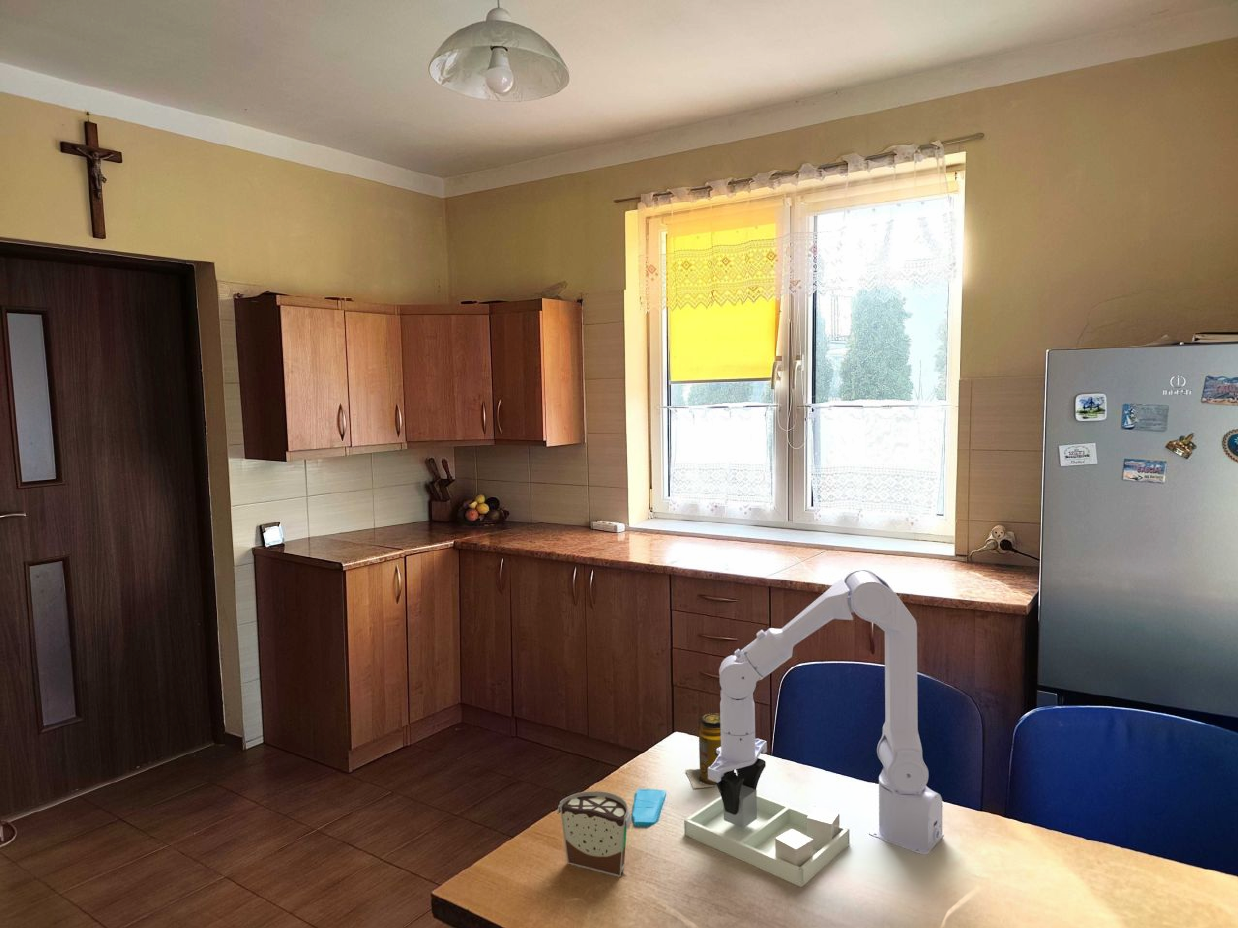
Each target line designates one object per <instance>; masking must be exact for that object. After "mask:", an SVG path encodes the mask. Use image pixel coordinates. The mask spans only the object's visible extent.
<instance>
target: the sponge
mask: <svg viewBox="0 0 1238 928" xmlns="http://www.w3.org/2000/svg"><path fill="white" fill-rule="evenodd" d="M666 796H667V791H666V790H664V789H658V788H657V789H654V788H640V789H639V788H638V789H637V790H636V791H635V793H634V797H633V798H634V799H633V805H632V813H631V814H630V815H631V819H632V821H633V824H634V825H633V826H634V827H645V828H647V827H650V828H651V827H652V826H654V825H655V824H657V823H659V821H660V817H661V813H662V810H663V806H664V805H665V801H666V800H665V799H666Z"/></svg>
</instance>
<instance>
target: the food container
mask: <svg viewBox="0 0 1238 928" xmlns="http://www.w3.org/2000/svg"><path fill="white" fill-rule="evenodd" d="M559 814H560V816H561V817H560V818H561V826H562V832H563V840H564V841H563V842H564V848H565V849H564V850H565V855H566V864H567V865H570V864H571V866H574V865H575V867H579V868H584V869H586V870H590V871H595V872H599V873H603V874H607V875H611V876H615V877H618V878H622V876H623V874H624V870H625V858H626V857H625V856H626V844H627V832H628V830H629V829H630V827H631V824H632V821H633V820H632V816H631V815H632V814H631V812H630V808H629V806H628V804H627V802H626V801H625V800H624V799H623V798H622V797H621V796H618V795H617V794H615V793H611V792H608V791H602V790H601V791H599V790H591V791H588V790H587V791H582V792H577V793H574V794H571V795H569V796H567V797H565V798H562V800H560V801H559V805H558V806H557V815H559Z"/></svg>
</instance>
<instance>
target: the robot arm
mask: <svg viewBox="0 0 1238 928" xmlns="http://www.w3.org/2000/svg"><path fill="white" fill-rule="evenodd" d="M852 613H854V614H855V615H856V616H857V617H859V618H860V619H862V620H864V621H865V622H866V621H867V622H870V623H872V624H875V625H876V626H878V627H879V628H880V630H882V631H883V632H884V692H885V693H884V695H885V696H884V697H885V699H884V701H885V703H884V705H885V707H884V708H885V709H884V710H885V719H884V720H885V721H884V723H883V726H882V735H881V738H880V740H879V741H878V744H877V746H876V747H877V748H876V754H877V757H878V759H879V760H880V762H881V763H882V766H883V767H882V769H881V772H880V774H879V776H878V824H877V825H876V826H875V827H873V829H872V830H871V831H870V832H868V835H869V836H871V837H874V838H876V839H878V840H882V841H885V842H888V843H890V844H893V845H896V846H898V847H901V848H903V849H906V850H909V851H912V852H914V853H917V854H919V855H923V856H926V855H928V854H929V852H930V851H931V850H932V849H933V848H934V847H935V846H936V845H937V844H938V843H939V842H940V841H941V839H943V837H944V836H945V834H944V833H943V798H942V796H941V794H940V793H938V792H937V791H934V790H932V789H931V788H929V787H928V786H927V784H928V781H929V776H930V775H929V769H928V766H927V765H926V764H925V762H924V759H923V748H922V743H921V739H920V734H919V730H918V625H917V620H916V619H915V618H914V616H913V615H912V614H911V612H910V611H909V610H908V608H907V607H906V605H905V604H904V603H903V601H902V600H901V599H900V597H899V596H898V594H897V592H895V591H894V590H893V589H892V587H891V586H890V585H889V584H888V583H887V582H886V581H885V580H884V579H883V578H881V577H880V576H879V575H877V574H875V573H874V572H872V571H870V570H868V569H863V568H862V569H856V570H853V571H851V572H850V573H849V574H847V575H846V577H845V578H844V579H843V578H841V579H840V580H838V581H836V582H834V583H833V584H832V585H831V586H830V587H829V588H828V589H827V590H826V591H825V592H823V594H821V595H820V596H818V597H817V598H816V599H815V600H813V601H812V603H811V604H809V605H808V606H806V607H805V608H804V609H803V610H802V611H801V612H800V613H799V614H797V615H796V616H795V617H794V618H793V619H791V620H790V621H789V622H788V623H786V624H785V625H784V626H782V628H773V627H769V628H768V629H767V630H765V631H764V630H763V629H760V630H759V631H757V633H756V638H755V639H754V640H752V641H751V642H749V644H747V645H746V646H744V647H743V648H742V649H740V648H737V649H736V650H735V651H734V654H732V655H729V656H726V657H725V658H723V660H722V661H721V663H720V666H719V668H718V674H719V686H720V687H721V689H720V702H719V709H720V710H719V711H720V712H719V714H720V723H721V747H719V748H717V749H716V753H717V754H719V755H718V757H717V758H716V760H715V761H714V763H713V764H712V765H711V766H710V767H708V779H709V780H712V781H714V782H715V783H716V787H717V789H718V792H719V795H720V796H721V797H722V801H723V804H724V808H725V811H726V812H728V813H731V814H733V815H736V814H737V813H738V808H739V795H740V790H741V786H742V785H744V786H747V787H750V788H752V789H755V790H757V788H758V783H759V780H760V778H761V775H762V773H763V771H764V770H765V768H766V767H767V765H766V764H767V763H766V761H765V760H764V759H762V758H759V757H760V755H761V754H763V755H764V754H766V753H767V752H768V743H767V742H768V741H766V740H763V739H760V738H756V718H755V717H756V715H755V714H756V713H755V710H756V709H755V708H756V707H755V705H756V704H755V701H754V694H753V693H754V692H755V690H756V686H757V682H758V681H761V680H763V679H764V678H766V677H767V676H768V675H770V674H771V673H772V672H774V671H775V670H777V668H779V667H780V666H781V665H783V664H784V663H786V662H788V661H789V659H791V658H792V657H793V653H794V652H793V650H794V647H795V645H797V644H798V643H800V642H802V640H804V639H806V638H807V637H808V636H810V635H812V634H813V633H815V632H817V630H819V629H821V628H822V627H823V626H824V625H826V624H828V623H829V622H830V621H832V620H847V621H853V620H854V617H853V615H852ZM735 770H736V772H735Z"/></svg>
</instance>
